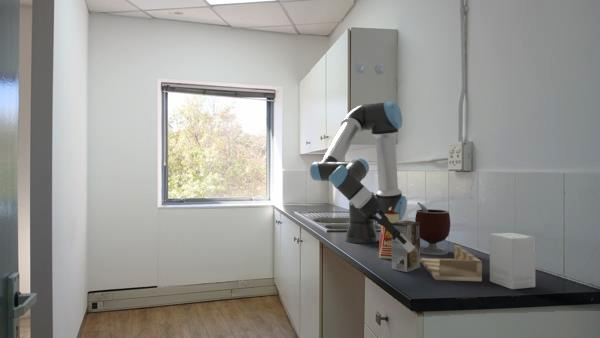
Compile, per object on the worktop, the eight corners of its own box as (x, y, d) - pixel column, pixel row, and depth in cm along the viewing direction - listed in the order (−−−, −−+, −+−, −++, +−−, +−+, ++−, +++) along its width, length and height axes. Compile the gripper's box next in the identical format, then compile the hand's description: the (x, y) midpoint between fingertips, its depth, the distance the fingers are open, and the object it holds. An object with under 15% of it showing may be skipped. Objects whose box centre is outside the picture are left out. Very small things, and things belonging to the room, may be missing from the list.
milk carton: (403, 259, 147) (403, 207, 147) (378, 258, 149) (379, 206, 149) (401, 254, 156) (402, 205, 156) (378, 253, 158) (378, 204, 157)
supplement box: (536, 287, 113) (537, 236, 113) (512, 290, 110) (512, 238, 110) (511, 278, 121) (511, 231, 121) (488, 281, 119) (488, 233, 119)
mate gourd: (457, 253, 157) (457, 204, 157) (432, 256, 151) (432, 206, 151) (429, 246, 171) (429, 201, 171) (405, 249, 165) (405, 202, 165)
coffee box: (404, 264, 139) (404, 220, 139) (420, 267, 135) (420, 221, 135) (390, 269, 133) (390, 222, 133) (407, 272, 128) (407, 224, 128)
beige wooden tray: (420, 261, 144) (420, 244, 144) (458, 262, 143) (458, 245, 143) (435, 279, 120) (435, 260, 120) (482, 281, 119) (482, 261, 119)
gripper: (356, 205, 148) (396, 245, 146) (358, 213, 123) (406, 261, 121) (370, 192, 147) (410, 232, 145) (375, 197, 122) (423, 245, 121)
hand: (408, 245), depth 133 cm, fingers open, 13 cm apart
